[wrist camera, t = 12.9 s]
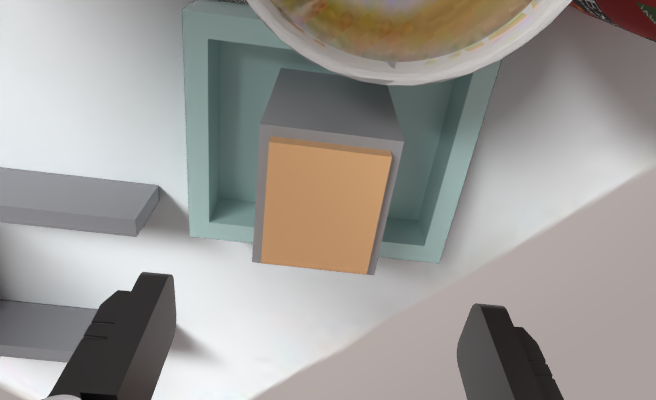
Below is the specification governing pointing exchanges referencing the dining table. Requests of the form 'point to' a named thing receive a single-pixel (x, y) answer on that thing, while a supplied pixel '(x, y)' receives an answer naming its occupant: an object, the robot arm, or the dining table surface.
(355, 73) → the coffee mug
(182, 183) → the dining table surface
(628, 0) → the canned food
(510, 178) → the dining table surface
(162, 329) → the robot arm
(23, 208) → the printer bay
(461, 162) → the tray
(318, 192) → the grey block tan panel
